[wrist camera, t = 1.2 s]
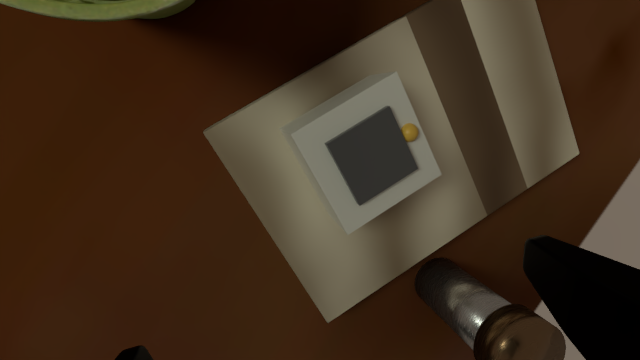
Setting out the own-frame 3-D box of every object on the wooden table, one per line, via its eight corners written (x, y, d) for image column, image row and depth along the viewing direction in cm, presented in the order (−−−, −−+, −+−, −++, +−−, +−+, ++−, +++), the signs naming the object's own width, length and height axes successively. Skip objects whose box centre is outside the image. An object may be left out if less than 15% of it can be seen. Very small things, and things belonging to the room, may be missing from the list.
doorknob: (423, 316, 24) (512, 410, 17) (401, 274, 23) (486, 356, 15) (468, 285, 24) (573, 364, 17) (448, 242, 23) (553, 308, 16)
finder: (329, 215, 19) (350, 238, 16) (279, 128, 17) (292, 135, 14) (410, 163, 19) (447, 176, 16) (369, 75, 18) (401, 70, 15)
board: (320, 308, 22) (327, 322, 20) (204, 129, 18) (203, 132, 16) (557, 150, 24) (579, 153, 22) (498, -40, 20) (520, -50, 19)
